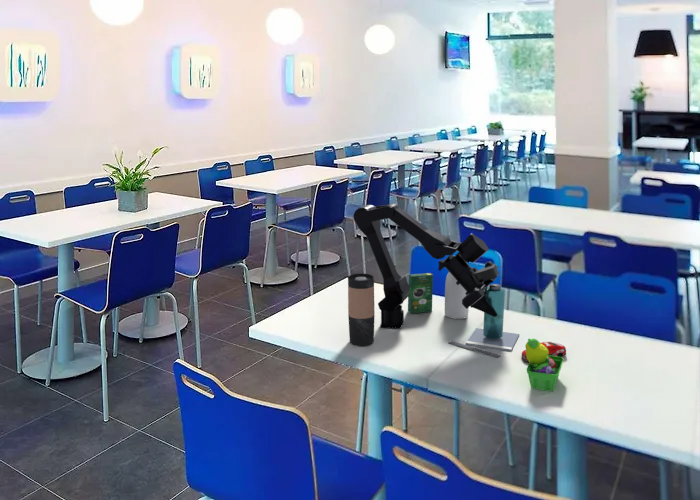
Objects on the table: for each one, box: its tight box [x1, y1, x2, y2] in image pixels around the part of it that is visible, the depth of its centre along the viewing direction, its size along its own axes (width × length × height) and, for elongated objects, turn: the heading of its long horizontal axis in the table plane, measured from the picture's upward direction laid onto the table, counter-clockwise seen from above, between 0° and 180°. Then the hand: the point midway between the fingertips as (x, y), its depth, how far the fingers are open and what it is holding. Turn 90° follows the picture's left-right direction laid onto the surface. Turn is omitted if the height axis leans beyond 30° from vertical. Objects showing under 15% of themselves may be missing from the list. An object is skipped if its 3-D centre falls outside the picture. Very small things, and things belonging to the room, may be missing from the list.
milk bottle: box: [444, 254, 469, 320], centre depth 199 cm, size 8×8×20 cm
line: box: [448, 340, 501, 359], centre depth 174 cm, size 16×2×1 cm, turn 47°
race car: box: [521, 341, 567, 363], centre depth 168 cm, size 13×5×4 cm, turn 110°
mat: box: [465, 327, 520, 352], centre depth 181 cm, size 13×13×1 cm
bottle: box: [482, 283, 506, 339], centre depth 179 cm, size 6×6×15 cm
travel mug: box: [347, 273, 376, 348], centre depth 179 cm, size 8×8×20 cm
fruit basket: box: [525, 338, 565, 392], centre depth 153 cm, size 11×9×11 cm
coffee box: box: [407, 272, 434, 314], centre depth 204 cm, size 8×3×13 cm, turn 107°
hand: (498, 312), depth 178 cm, fingers closed on bottle, 5 cm apart
